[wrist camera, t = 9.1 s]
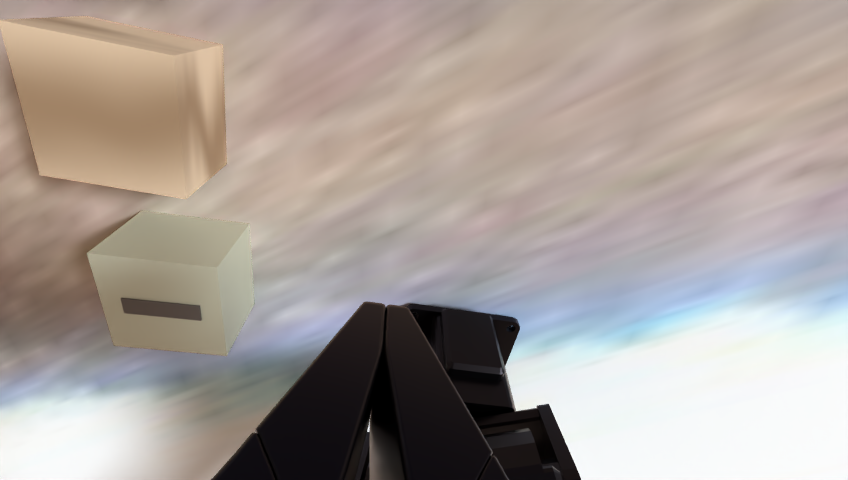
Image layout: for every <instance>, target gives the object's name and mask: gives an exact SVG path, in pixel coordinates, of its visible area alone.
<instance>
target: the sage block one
mask: <svg viewBox="0 0 848 480" xmlns="http://www.w3.org/2000/svg"><path fill="white" fill-rule="evenodd" d="M87 256H88V260H89V263H90V266H91V270H92V273H93V277H94V280H95V283H96V287H97V290H98V294H99V297H100V301H101V304H102V307H103V311H104V314H105V318H106V321H107V324H108V328H109V331H110V335H111V338H112V341H113V345H114V346H123V347H134V348H145V349H156V350H167V351H178V352H189V353H200V354H211V355H221V356H227V355H228V353H229V351H230V349H231V348H232V346H233V344H234V342H235V340H236V338H237V336H238V334H239V332H240V330H241V328H242V327H243V325H244V323H245V321H246V319H247V317H248V315H249V313H250V311H251V309H252V308H253V306H254V304H255V303H254V287H253V271H252V255H251V239H250V224H249V223H241V222H233V221H224V220H216V219H208V218H199V217H191V216H183V215H175V214H166V213H158V212H150V211H141V212H139V213H138V214H137V215H135V216H134V217H133V218H132V219H130V220H129V221H128V222H126V223H125V224H124V225H123V226H121V227H120V228H119V229H117V230H116V231H115V232H113V233H112V234H111V235H110V236H108V237H107V238H106V239H104V240H103V241H102V242H101V243H99V244H98V245H97V246H95V247H94V248H93V249H91V250H90V251H89V252H88V253H87Z"/></svg>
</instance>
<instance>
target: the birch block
mask: <svg viewBox="0 0 848 480" xmlns="http://www.w3.org/2000/svg"><path fill="white" fill-rule="evenodd" d="M0 29H1V33H2V36H3V40H4V44H5V48H6V51H7V55H8V59H9V62H10V66H11V70H12V74H13V77H14V81H15V85H16V89H17V92H18V96H19V100H20V103H21V107H22V111H23V115H24V118H25V122H26V126H27V130H28V133H29V137H30V141H31V144H32V148H33V152H34V156H35V159H36V163H37V167H38V171H39V174H40V175H42V176H48V177H54V178H60V179H66V180H72V181H79V182H85V183H91V184H97V185H103V186H109V187H115V188H121V189H127V190H133V191H139V192H145V193H151V194H157V195H163V196H169V197H175V198H181V199H187V198H188V197H190V196H191V195H192V194H193V193H194V192H195V191H196V190H198V189H199V188H200V187H201V186H202V185H203V184H204V183H206V182H207V181H208V180H209V179H210V178H211V177H212V176H214V175H215V174H216V173H217V172H218V171H219V170H221V169H222V168H223V167H224V166H225V165H226V164H227V155H226V124H225V94H224V64H223V45H222V44H218V43H213V42H208V41H203V40H198V39H194V38H189V37H184V36H179V35H175V34H170V33H165V32H160V31H155V30H151V29H146V28H141V27H136V26H132V25H127V24H122V23H117V22H112V21H108V20H103V19H98V18H93V17H89V16H75V17H52V18H30V19H7V20H0Z"/></svg>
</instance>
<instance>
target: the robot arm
mask: <svg viewBox="0 0 848 480" xmlns="http://www.w3.org/2000/svg"><path fill="white" fill-rule="evenodd" d="M412 312H415V313H417V314H416V315H412ZM510 325H513V326H512V327H508V326H510ZM519 330H520V326H519V323H518V321H517V319H515V318H513V317H506V316H499V315H491V314H484V313H477V312H469V311H462V310H455V309H447V308H440V307H433V306H425V305H418V304H411V305H409V306H407V307H404V306H397V305H387V307H385V305H384V304H382V303H375V302H364V303H363V304H362V305H361V306H360V307H359V308H358V309H357V311H356V312H355V313H354V314H353V315H352V316H351V318H350V319H349V320H348V321H347V322H346V324H345V325H344V326H343V327H342V328H341V329H340V331H339V332H338V333H337V334H336V335H335V336H334V338H333V339H332V340H331V341H330V342H329V344H328V345H327V346H326V347H325V348H324V349H323V351H322V352H321V353H320V354H319V355H318V356H317V358H316V359H315V360H314V361H313V362H312V364H311V365H310V366H309V367H308V368H307V369H306V371H305V372H304V373H303V374H302V375H301V376H300V378H299V379H298V380H297V381H296V382H295V384H294V385H293V386H292V387H291V388H290V389H289V391H288V392H287V393H286V394H285V395H284V396H283V398H282V399H281V400H280V401H279V402H278V404H277V405H276V406H275V407H274V408H273V409H272V411H271V412H270V413H269V414H268V415H267V416H266V418H265V419H264V420H263V421H262V422H261V424H260V425H259V426H258V427H257V428H256V433H252V434H251V435H250V436H249V437H248V438H247V440H246V441H245V442H244V443H243V444H242V446H241V447H240V448H239V449H238V450H237V451H236V453H235V454H234V455H233V456H232V457H231V458H230V459H229V460H228V462H227V463H226V464H225V465H224V466H223V467H222V468H221V469H220V470H219V472H218V473H217V474H216V475H215V476H214V477H213V478H212V479H211V480H581V478H580V475H579V473H578V470H577V468H576V466H575V463H574V461H573V459H572V456H571V454H570V452H569V450H568V447H567V445H566V443H565V440H564V438H563V436H562V433H561V431H560V429H559V427H558V424H557V422H556V420H555V417H554V415H553V413H552V410H551V408H550V406H549V404H545V405H539V406H537V408H533V409H527V410H521V411H516V409H515V405H514V401H513V397H512V393H511V389H510V385H509V381H508V377H507V373H506V369H505V365H506V363H507V360H508V358H509V355H510V353H511V350H512V348H513V345H514V343H515V340H516V338H517V335H518V333H519ZM370 414H371V416H370ZM369 419H370V432H367V429H368V424H369Z"/></svg>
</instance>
